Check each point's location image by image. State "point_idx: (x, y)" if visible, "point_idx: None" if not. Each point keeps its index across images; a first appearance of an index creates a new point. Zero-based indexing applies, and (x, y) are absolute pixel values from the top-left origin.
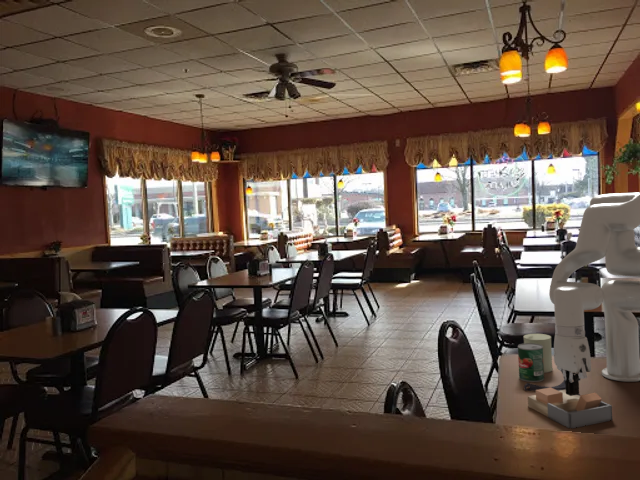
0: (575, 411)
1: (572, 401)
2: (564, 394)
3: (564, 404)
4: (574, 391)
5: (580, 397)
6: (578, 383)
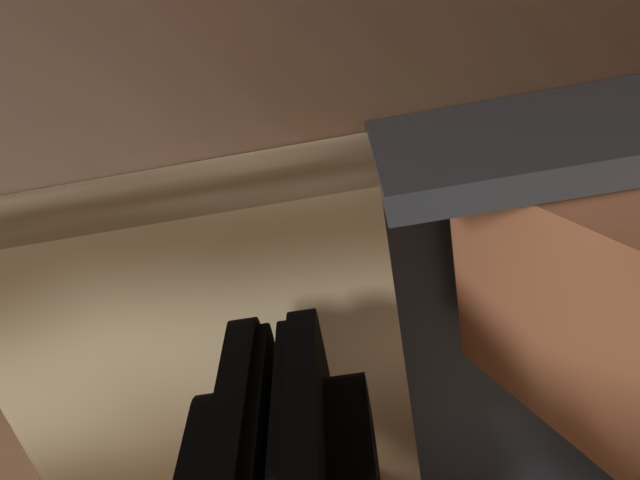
0: (420, 311)
1: (394, 386)
2: (130, 357)
3: (416, 463)
4: (373, 436)
5: (626, 475)
6: (314, 437)
